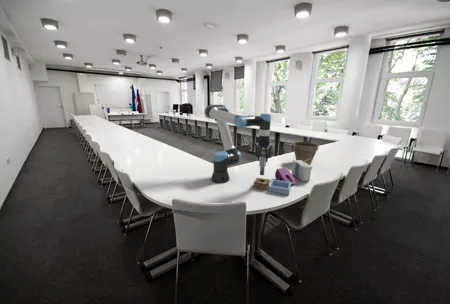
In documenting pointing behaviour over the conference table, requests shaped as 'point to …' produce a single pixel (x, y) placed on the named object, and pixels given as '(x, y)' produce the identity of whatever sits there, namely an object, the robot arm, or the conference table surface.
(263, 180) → the block
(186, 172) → the conference table surface
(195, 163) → the conference table surface
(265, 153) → the steel pin
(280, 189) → the parts tray
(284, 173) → the mounting bracket
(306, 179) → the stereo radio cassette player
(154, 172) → the conference table surface
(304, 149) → the plant pot
